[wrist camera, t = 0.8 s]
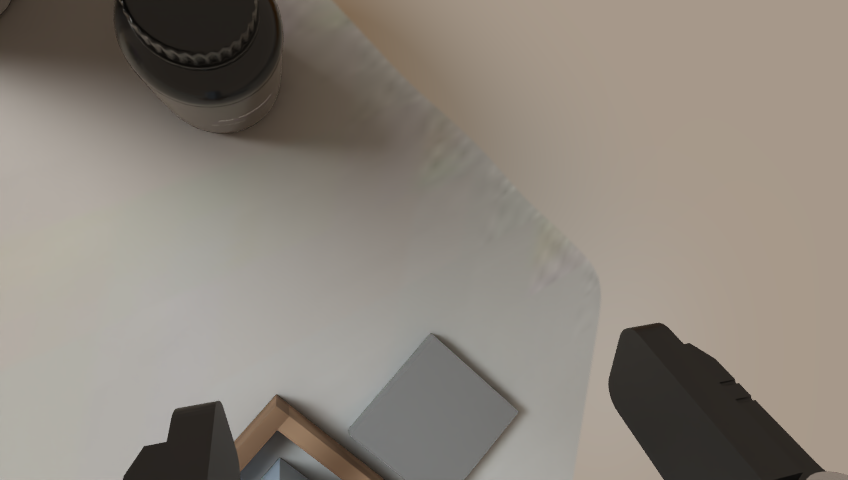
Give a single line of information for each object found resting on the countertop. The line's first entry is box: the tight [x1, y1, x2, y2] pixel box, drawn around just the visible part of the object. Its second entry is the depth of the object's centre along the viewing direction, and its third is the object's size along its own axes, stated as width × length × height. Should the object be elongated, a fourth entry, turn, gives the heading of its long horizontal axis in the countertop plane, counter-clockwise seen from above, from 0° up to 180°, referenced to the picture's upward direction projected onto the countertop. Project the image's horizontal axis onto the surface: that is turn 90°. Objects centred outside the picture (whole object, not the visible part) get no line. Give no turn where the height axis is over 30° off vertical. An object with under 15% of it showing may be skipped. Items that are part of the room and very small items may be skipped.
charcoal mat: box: [348, 334, 519, 480], centre depth 35 cm, size 8×8×1 cm
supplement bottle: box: [114, 0, 283, 133], centre depth 25 cm, size 7×7×12 cm
